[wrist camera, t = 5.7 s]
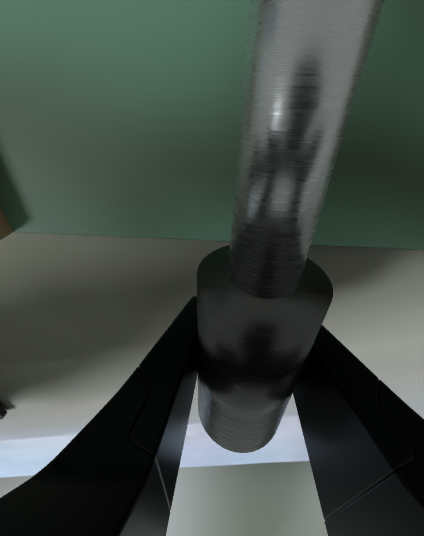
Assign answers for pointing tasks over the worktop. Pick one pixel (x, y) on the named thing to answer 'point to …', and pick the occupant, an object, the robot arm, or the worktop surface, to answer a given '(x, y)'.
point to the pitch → (186, 123)
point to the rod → (277, 213)
